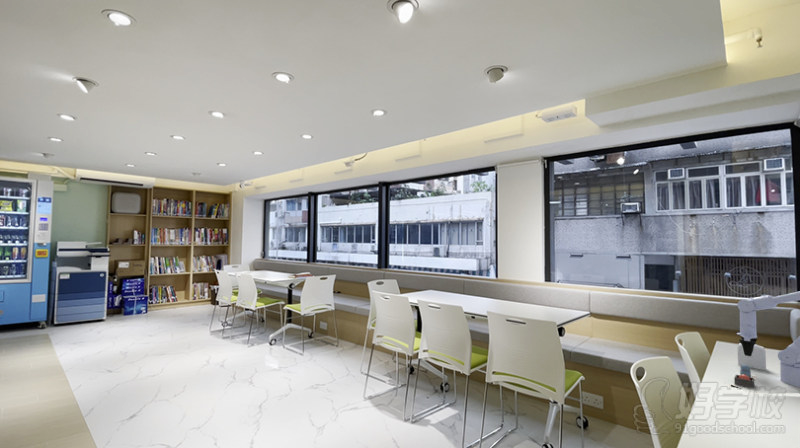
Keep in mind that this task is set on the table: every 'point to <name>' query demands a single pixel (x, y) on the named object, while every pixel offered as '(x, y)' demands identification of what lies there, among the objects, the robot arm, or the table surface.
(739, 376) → the dome
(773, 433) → the table surface
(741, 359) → the photo printer
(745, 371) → the pawn
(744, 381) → the game board
